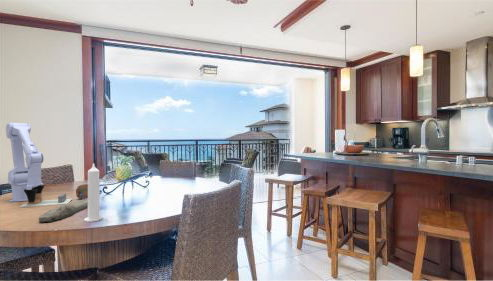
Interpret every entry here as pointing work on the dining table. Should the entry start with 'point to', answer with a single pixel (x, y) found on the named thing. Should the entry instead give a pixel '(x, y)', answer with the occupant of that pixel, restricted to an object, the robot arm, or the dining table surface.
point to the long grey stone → (63, 211)
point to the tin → (82, 191)
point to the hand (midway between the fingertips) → (34, 200)
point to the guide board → (50, 202)
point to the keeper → (36, 198)
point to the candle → (93, 195)
